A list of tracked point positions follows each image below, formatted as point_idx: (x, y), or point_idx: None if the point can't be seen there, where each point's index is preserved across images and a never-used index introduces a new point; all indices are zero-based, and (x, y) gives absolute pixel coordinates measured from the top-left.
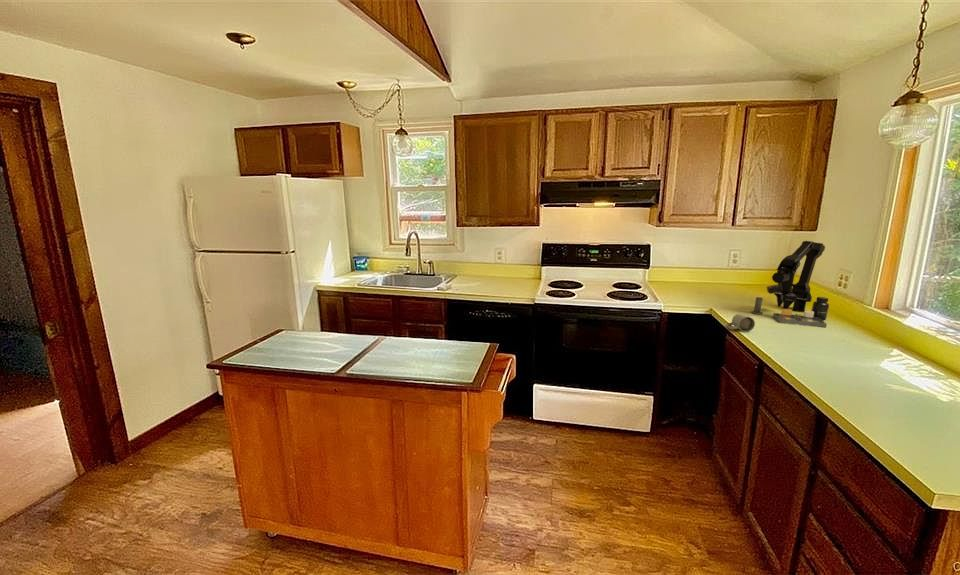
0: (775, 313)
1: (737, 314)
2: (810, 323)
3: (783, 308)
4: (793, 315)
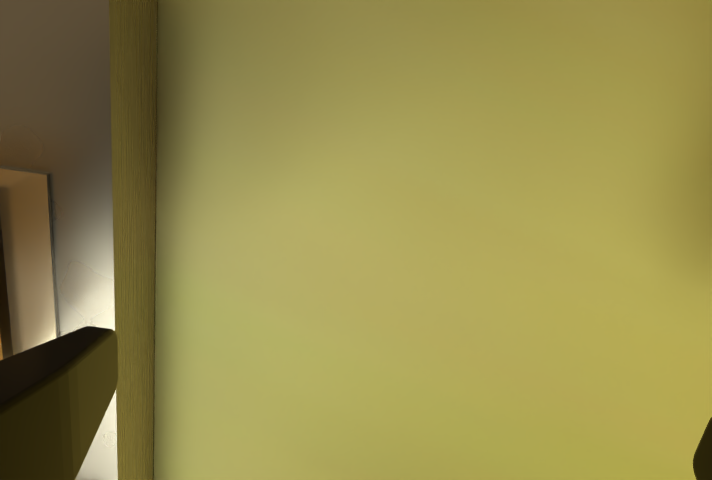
0: (53, 39)
1: None
2: None
3: (5, 359)
4: None
